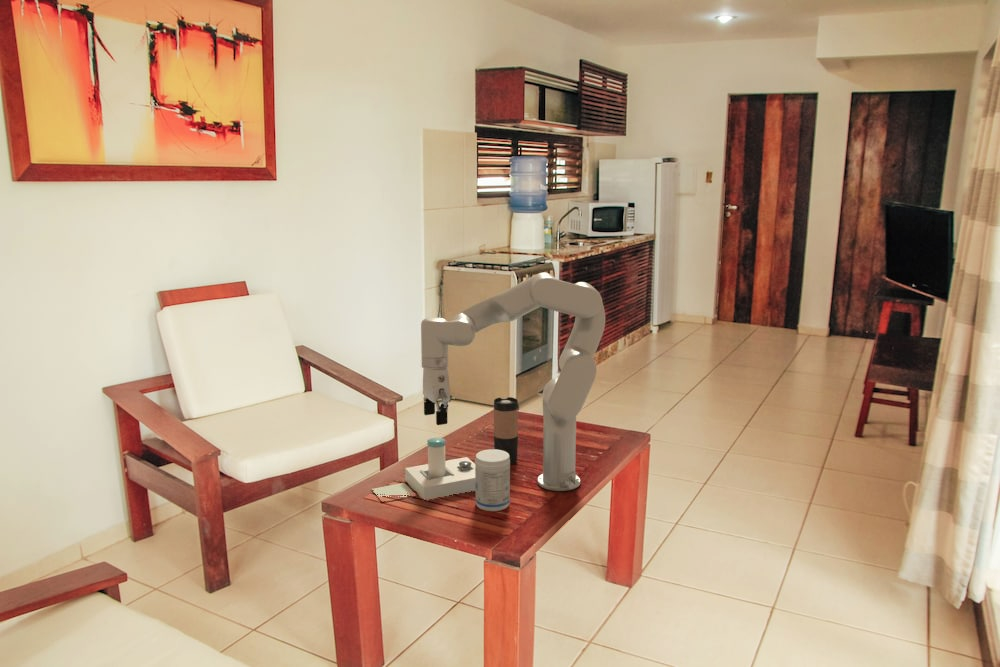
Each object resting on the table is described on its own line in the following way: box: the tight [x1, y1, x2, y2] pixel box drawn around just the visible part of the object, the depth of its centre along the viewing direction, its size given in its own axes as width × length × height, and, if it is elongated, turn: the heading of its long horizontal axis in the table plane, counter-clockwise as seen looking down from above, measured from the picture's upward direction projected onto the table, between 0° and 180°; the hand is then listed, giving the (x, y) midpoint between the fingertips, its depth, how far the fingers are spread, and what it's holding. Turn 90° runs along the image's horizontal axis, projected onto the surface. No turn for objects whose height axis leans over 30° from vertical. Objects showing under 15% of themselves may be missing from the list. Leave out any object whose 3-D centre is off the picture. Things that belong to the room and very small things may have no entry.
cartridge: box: [427, 437, 446, 479], centre depth 221 cm, size 5×5×14 cm
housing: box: [404, 456, 476, 501], centre depth 223 cm, size 16×20×4 cm
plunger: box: [459, 461, 471, 471], centre depth 226 cm, size 4×4×5 cm
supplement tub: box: [474, 448, 511, 512], centre depth 208 cm, size 10×10×15 cm
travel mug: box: [493, 396, 519, 465], centre depth 240 cm, size 8×8×20 cm
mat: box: [371, 482, 414, 497], centre depth 218 cm, size 10×10×1 cm
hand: (435, 419), depth 218 cm, fingers open, 9 cm apart
